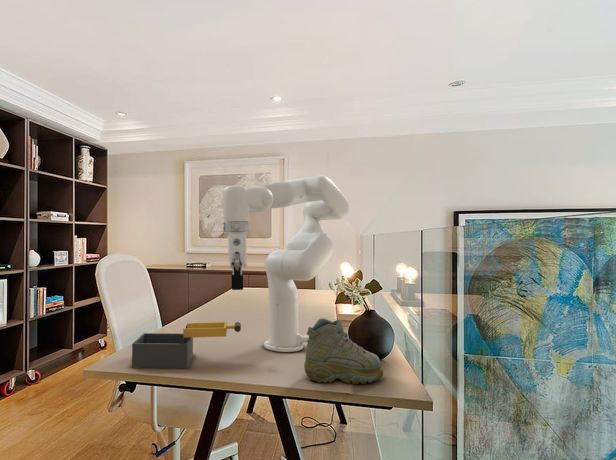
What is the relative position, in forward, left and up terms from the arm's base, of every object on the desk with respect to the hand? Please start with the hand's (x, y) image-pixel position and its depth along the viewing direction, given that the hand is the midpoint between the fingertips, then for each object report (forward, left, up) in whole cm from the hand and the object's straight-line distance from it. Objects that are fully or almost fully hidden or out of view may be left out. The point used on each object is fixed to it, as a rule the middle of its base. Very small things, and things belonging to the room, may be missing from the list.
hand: (237, 287), depth 112 cm
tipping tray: (+7, +1, -13) cm, 15 cm away
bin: (+21, +1, -21) cm, 30 cm away
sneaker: (-27, +13, -21) cm, 37 cm away
